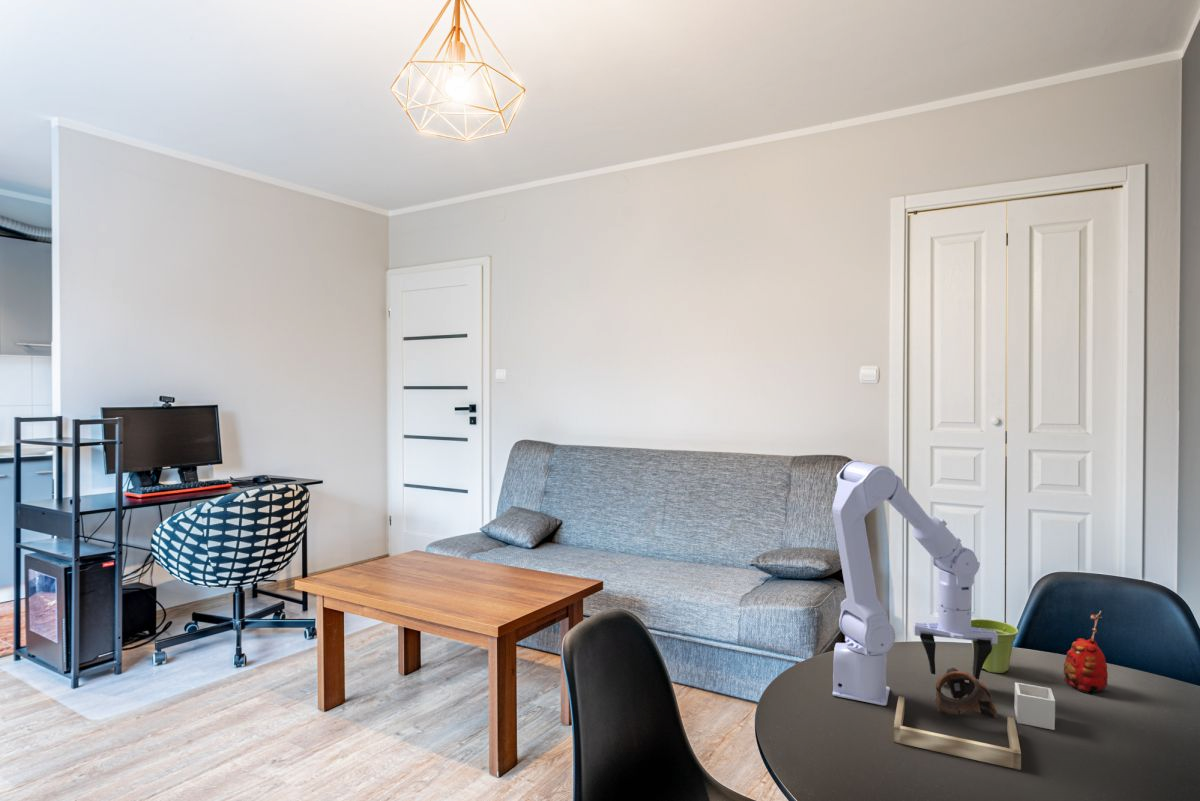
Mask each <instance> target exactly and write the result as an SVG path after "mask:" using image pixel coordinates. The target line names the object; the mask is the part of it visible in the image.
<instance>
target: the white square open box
mask: <svg viewBox="0 0 1200 801" xmlns="http://www.w3.org/2000/svg"><path fill="white" fill-rule="evenodd" d="M1013 705H1014V715H1015V720H1016V723H1017V724H1021V725H1027V726H1032V727H1037V728H1042V729H1046V730H1047V729H1048V730H1053V731H1055V730H1056V728H1055V727H1056V726H1055V725H1056V724H1055V723H1056V699H1055V696H1054V694H1053V691H1052V688H1051V687H1045V686H1039V685H1033V684H1029V683H1027V684H1026V683H1022V682H1014V704H1013Z"/></svg>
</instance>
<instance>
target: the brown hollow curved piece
mask: <svg viewBox="0 0 1200 801" xmlns="http://www.w3.org/2000/svg"><path fill="white" fill-rule="evenodd" d="M967 681H968V682H967ZM945 684H946V685H947V687H948V689H949V690H950V694H951V697H949V696H947V695H945V694H944V693H943V692H942V688H943V686H944V685H945ZM935 689H936V692H935V706H936V710H937V711H938V714H939V713H940V714H941V713H942V712H945V713H950V714H956V715H960V714H961V713H962V714H967V713H972V712H977V713H980V714H981V713H982V710H981V707H983V708H987V710H989V711H990V712H991V714H992V717H993V718H996V719H997V709H996V705H995V704H994V701H993V700H992V698H991V693H990V689H989V688H988V687H987V686H986V684H984V683H983V682H982V681H980V679H979V680H978V679H976V678H975V677H974V676H973V674H971V673H969V672H966V671H963V670H961V671H960V670H958V669H957V668H955V667H951V668H948V669H947V670H946V671H945V673H944V674H943V675H941V676H940V677H939V678H938V680H937V681H936V683H935ZM980 706H981V707H980Z"/></svg>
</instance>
